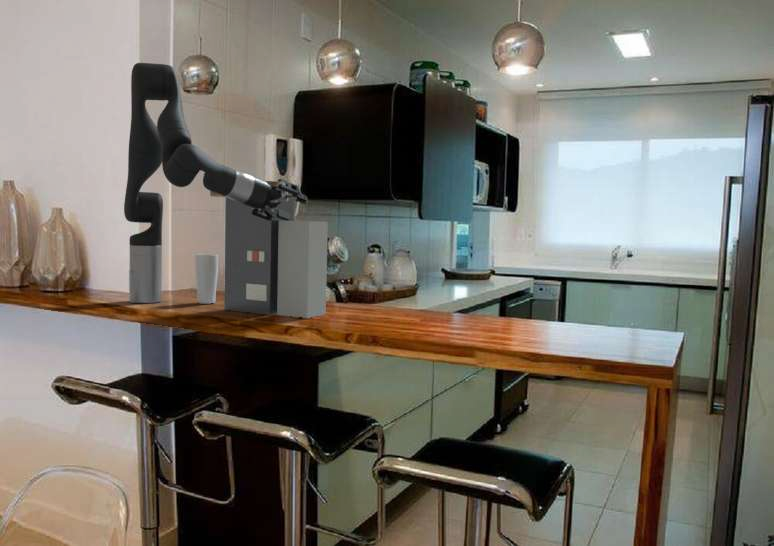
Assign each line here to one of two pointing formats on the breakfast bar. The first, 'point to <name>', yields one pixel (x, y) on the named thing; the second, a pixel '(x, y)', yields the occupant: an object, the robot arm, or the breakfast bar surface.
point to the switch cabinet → (251, 258)
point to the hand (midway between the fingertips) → (297, 209)
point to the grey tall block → (302, 268)
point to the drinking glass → (206, 277)
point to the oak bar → (271, 183)
